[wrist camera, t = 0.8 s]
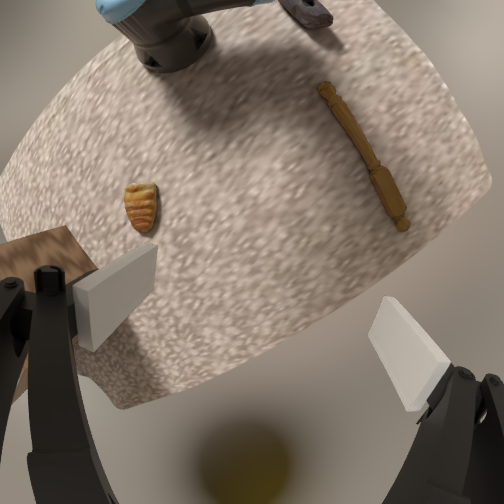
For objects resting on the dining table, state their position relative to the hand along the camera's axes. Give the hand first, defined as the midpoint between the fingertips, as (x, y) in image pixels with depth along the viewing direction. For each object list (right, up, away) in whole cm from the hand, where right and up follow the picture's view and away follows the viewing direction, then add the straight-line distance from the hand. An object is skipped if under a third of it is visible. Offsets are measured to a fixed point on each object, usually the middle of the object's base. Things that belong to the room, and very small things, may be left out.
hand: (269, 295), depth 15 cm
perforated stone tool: (+8, +49, +22) cm, 55 cm away
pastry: (-21, +12, +34) cm, 41 cm away
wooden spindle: (+19, +19, +29) cm, 40 cm away
